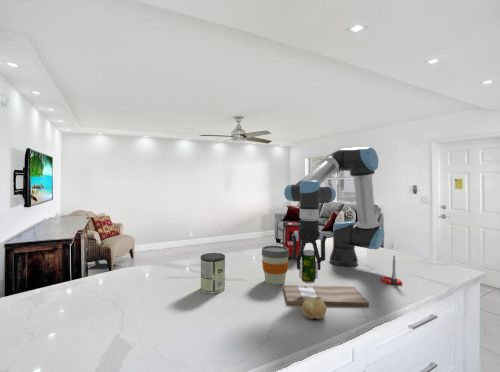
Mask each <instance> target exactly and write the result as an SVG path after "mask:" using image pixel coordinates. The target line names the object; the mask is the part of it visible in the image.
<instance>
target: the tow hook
mask: <svg viewBox="0 0 500 372" xmlns="http://www.w3.org/2000/svg"><path fill="white" fill-rule="evenodd" d="M396 262H397V261H396V255H393V256H392V273H391V276H382V277H380V280H381V281H382V282H384V283H385V284H386V285H394V286H396V285H399V286H402V285H403V282H402V280H401V279H400V278H398V277H397V272H396V265H397V264H396Z"/></svg>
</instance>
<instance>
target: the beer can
mask: <svg viewBox="0 0 500 372" xmlns="http://www.w3.org/2000/svg"><path fill="white" fill-rule="evenodd" d="M301 261H302V279H301V281H302V283H304V284H314V283H315V282H316V279H315V261H316V254H315V251H314V249H313V250H312V249H304V251H303V254H302V257H301Z"/></svg>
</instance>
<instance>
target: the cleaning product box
mask: <svg viewBox="0 0 500 372" xmlns="http://www.w3.org/2000/svg"><path fill="white" fill-rule="evenodd" d="M282 223H283V224H282V246H283V247H287V248H288V249H289V256H288V260H293V258H292V251H293V239H292V234H294V235H295V234H298V232H299V225H300V222H299V221H285V220H284V221H282ZM301 241H302V240H301V238H300V237H298V239H297V248H296V257H297V256H298V252H299V249H300V246H301Z"/></svg>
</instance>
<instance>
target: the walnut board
mask: <svg viewBox="0 0 500 372" xmlns="http://www.w3.org/2000/svg"><path fill="white" fill-rule="evenodd" d="M282 285H283V292H284V296H285V300H286V305H287V306H302V304H303V302H304V301H305V300H306V299H307V298H310V297H317V294H318V297H321V300H322V301H323V302H324V303H325V305H326V307H327V306H329V307H330V306H331V307H370V302H369V301H368V300H367V299H366V298H365V297H364V296H363V294H362V293H361V291H359V290H358V289H357V288H356V286H345V285H344V286H342V285H341V286H340V285H335V286H334V285H305V284H304V285H303V284H302V285H300V284H297V285H295V284H294V285H293V284H292V285H291V284H288V285H286V284H285V285H284V284H282Z"/></svg>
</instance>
